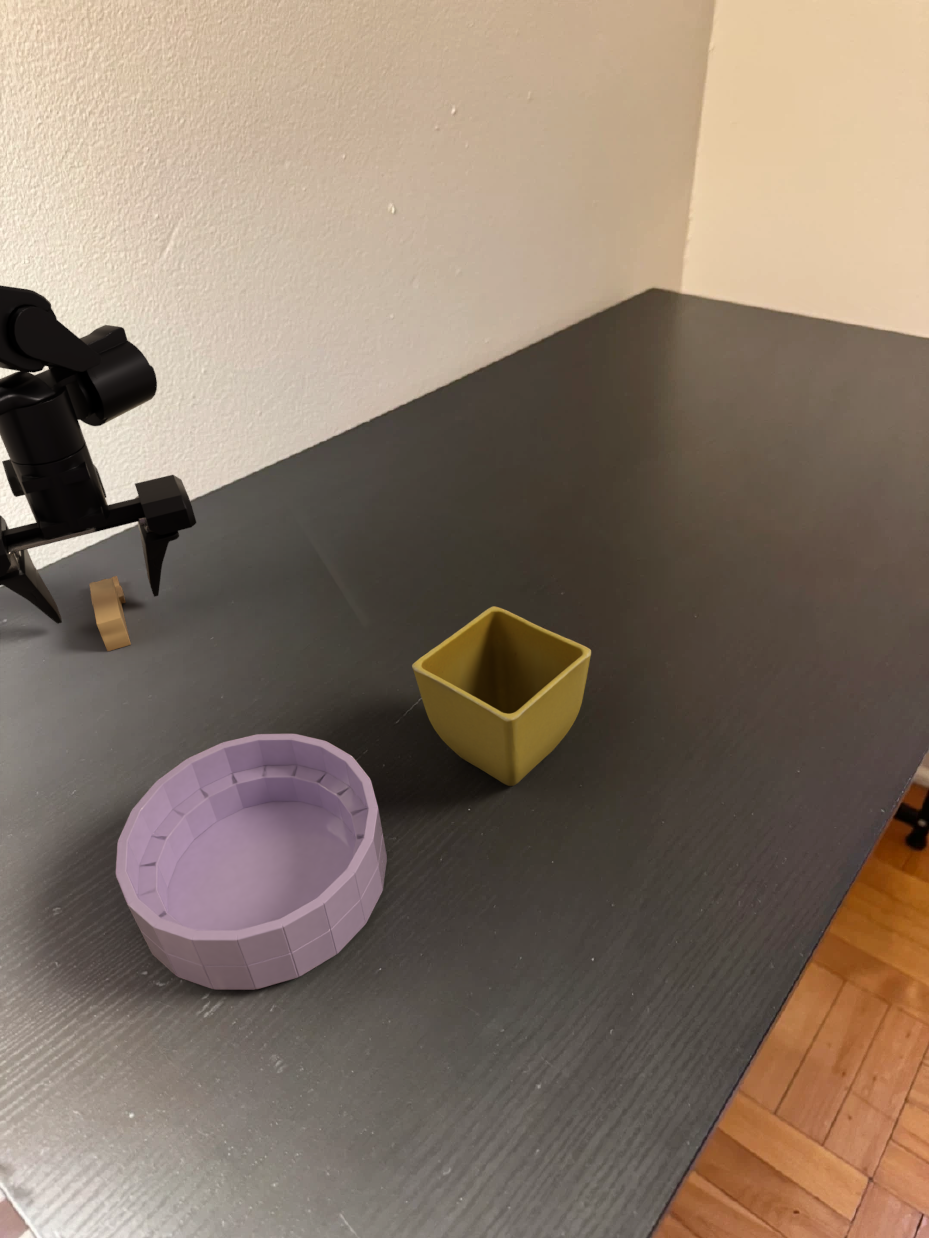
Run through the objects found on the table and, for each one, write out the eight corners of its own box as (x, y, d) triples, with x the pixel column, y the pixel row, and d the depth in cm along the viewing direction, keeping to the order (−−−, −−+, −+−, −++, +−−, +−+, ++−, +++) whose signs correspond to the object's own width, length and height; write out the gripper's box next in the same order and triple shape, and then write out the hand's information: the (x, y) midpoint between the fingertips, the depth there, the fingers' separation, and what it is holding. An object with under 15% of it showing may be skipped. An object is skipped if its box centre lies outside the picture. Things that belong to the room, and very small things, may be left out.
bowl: (90, 951, 50) (58, 895, 47) (230, 769, 61) (212, 713, 58) (316, 1031, 45) (298, 975, 42) (423, 818, 57) (416, 761, 53)
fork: (135, 643, 74) (125, 616, 72) (102, 653, 73) (91, 625, 71) (120, 581, 82) (111, 555, 80) (90, 590, 81) (80, 563, 80)
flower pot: (419, 759, 61) (408, 663, 56) (497, 695, 66) (493, 602, 61) (514, 820, 56) (511, 721, 51) (590, 746, 61) (595, 649, 56)
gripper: (152, 392, 76) (195, 539, 85) (-76, 438, 70) (-3, 591, 80) (172, 437, 68) (217, 595, 77) (-84, 494, 62) (-2, 657, 71)
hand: (108, 607), depth 77 cm, fingers open, 8 cm apart
